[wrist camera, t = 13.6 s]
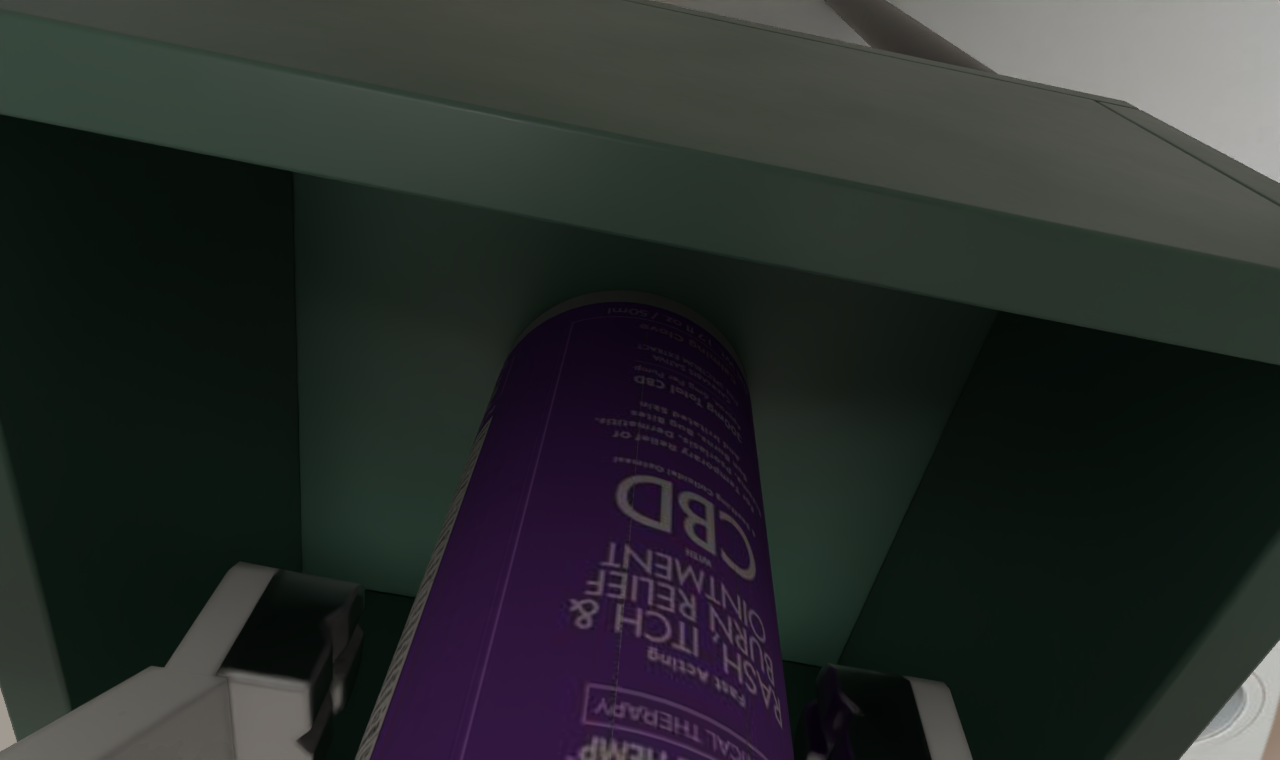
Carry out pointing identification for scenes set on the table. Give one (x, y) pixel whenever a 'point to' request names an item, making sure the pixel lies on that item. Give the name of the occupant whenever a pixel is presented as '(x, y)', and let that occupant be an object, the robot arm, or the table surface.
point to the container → (599, 559)
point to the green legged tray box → (647, 262)
